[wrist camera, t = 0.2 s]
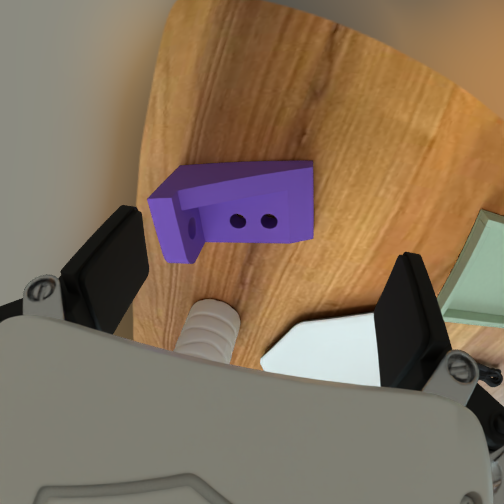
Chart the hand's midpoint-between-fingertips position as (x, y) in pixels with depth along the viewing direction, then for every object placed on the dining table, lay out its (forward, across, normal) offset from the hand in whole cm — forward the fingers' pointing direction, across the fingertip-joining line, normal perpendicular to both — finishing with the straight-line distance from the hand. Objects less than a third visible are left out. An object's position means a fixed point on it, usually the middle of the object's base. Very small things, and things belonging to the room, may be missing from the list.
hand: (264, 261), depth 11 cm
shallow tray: (+17, -28, +10) cm, 34 cm away
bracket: (+17, +3, +7) cm, 19 cm away
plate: (+18, -13, +30) cm, 37 cm away
